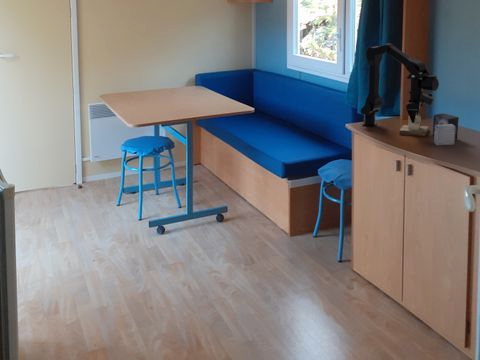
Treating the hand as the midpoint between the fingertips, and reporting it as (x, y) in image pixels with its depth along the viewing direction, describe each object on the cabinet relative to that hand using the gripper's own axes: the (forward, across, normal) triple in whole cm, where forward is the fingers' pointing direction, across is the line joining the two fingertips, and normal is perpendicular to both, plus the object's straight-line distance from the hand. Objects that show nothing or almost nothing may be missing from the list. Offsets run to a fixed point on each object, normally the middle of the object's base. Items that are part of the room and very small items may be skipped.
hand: (414, 120), depth 304 cm
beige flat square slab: (+6, 0, 0) cm, 6 cm away
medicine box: (+6, -19, -16) cm, 25 cm away
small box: (+6, -7, -15) cm, 18 cm away
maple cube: (+4, 0, 0) cm, 4 cm away
